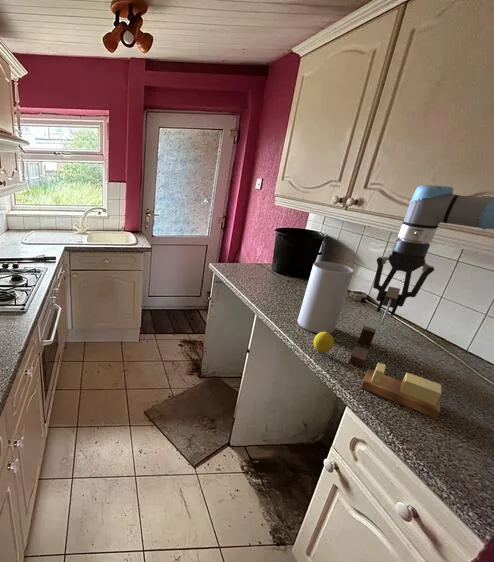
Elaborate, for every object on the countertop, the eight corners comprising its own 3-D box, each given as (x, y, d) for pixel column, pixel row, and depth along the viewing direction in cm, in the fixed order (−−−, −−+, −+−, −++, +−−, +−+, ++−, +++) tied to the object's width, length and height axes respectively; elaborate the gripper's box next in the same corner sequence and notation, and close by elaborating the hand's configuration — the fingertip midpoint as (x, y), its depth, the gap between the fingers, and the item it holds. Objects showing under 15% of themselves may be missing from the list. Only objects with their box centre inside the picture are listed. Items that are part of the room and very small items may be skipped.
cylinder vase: (294, 316, 130) (310, 260, 121) (329, 322, 126) (347, 264, 117) (299, 331, 119) (317, 269, 110) (337, 337, 115) (358, 275, 106)
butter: (435, 396, 84) (441, 384, 82) (435, 406, 80) (441, 393, 79) (401, 383, 88) (406, 372, 87) (400, 392, 85) (405, 380, 83)
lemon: (308, 352, 106) (315, 331, 103) (313, 346, 110) (319, 326, 107) (327, 359, 103) (334, 338, 100) (331, 352, 106) (338, 332, 103)
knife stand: (370, 343, 112) (376, 329, 110) (362, 368, 98) (368, 352, 96) (358, 340, 115) (363, 325, 112) (348, 363, 101) (354, 347, 99)
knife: (393, 305, 102) (400, 288, 100) (387, 326, 88) (395, 307, 86) (382, 302, 104) (389, 286, 101) (375, 323, 90) (382, 304, 87)
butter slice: (381, 376, 91) (385, 365, 90) (379, 384, 88) (384, 372, 86) (373, 373, 92) (378, 362, 91) (371, 381, 89) (376, 369, 87)
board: (436, 402, 85) (440, 395, 84) (436, 418, 80) (440, 411, 79) (364, 375, 95) (367, 368, 94) (360, 387, 90) (363, 380, 89)
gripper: (377, 237, 93) (353, 307, 101) (452, 248, 83) (418, 325, 92) (380, 233, 98) (357, 301, 107) (451, 244, 88) (418, 317, 97)
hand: (385, 312), depth 99 cm, fingers closed on knife, 3 cm apart
